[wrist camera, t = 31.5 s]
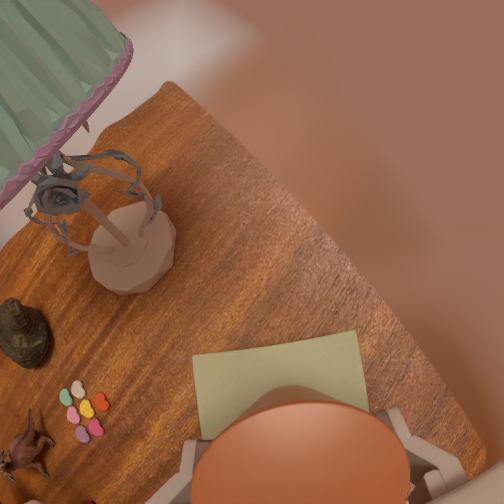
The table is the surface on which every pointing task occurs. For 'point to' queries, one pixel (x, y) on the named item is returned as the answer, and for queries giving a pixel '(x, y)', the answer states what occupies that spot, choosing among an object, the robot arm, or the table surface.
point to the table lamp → (64, 126)
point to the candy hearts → (84, 410)
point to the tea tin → (303, 455)
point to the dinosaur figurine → (24, 451)
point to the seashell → (22, 333)
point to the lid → (276, 376)
